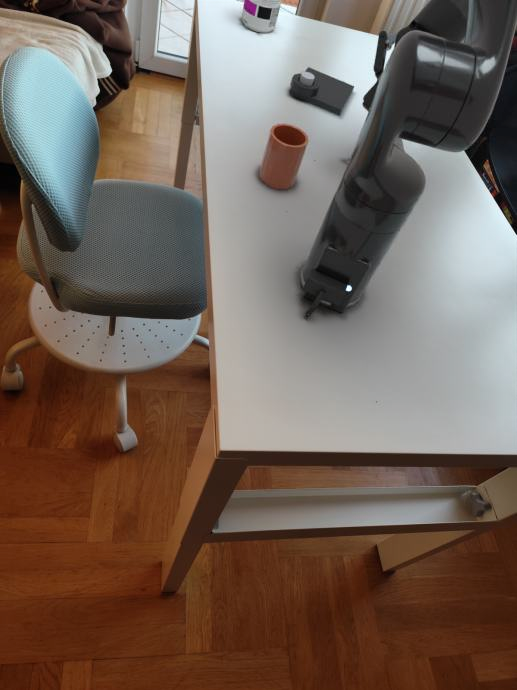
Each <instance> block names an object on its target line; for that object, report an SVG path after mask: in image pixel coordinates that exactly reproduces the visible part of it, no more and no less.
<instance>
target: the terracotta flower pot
mask: <svg viewBox="0 0 517 690" xmlns="http://www.w3.org/2000/svg"><path fill="white" fill-rule="evenodd" d="M267 137H268V138H267V141H266V145H265V148H264V153H263V156H262V160H261V164H260V166H259V167H260V168H259V172H258V175H259V178H260V180H261V181H262V182H263V183H264V184H265V185H266V186H268V187H270V188H272V189H276V190H288V189H291V188H292V187H293V186H294V184H295V182H296V180H297V177H298V174H299V171H300V169H301V165H302V162H303V159H304V157H305V154H306V150H307V147H308V145H309V141H310V140H309V136H308V135H307V134H306V132H305V131H304V130H302V129H301V128H300V127H298V126H295V125H292V124H290V123H277V124H274V125H272V126H271V128H270V129H269V133H268V136H267Z"/></svg>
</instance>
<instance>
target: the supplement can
mask: <svg viewBox="0 0 517 690" xmlns="http://www.w3.org/2000/svg"><path fill="white" fill-rule="evenodd" d="M281 5H282V0H244V1H243V6H242V12H241V21H242V22H243V25H244V26H245V27H246V28H248V29H249V30H251V31H253V32H256V33H262V34H266V33H267V34H268V33H271V32H272V31H274V30H275V29H276V25H277V21H278V17H279V12H280V9H281Z"/></svg>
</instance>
